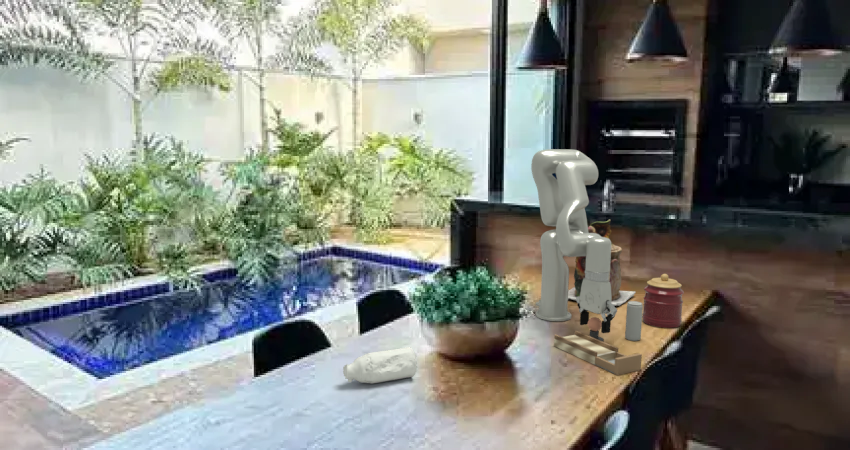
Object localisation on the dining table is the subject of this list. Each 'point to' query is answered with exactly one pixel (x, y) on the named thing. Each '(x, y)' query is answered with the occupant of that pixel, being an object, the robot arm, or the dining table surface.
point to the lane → (585, 347)
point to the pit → (620, 363)
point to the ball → (594, 324)
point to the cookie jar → (615, 270)
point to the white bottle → (382, 366)
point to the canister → (663, 302)
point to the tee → (595, 335)
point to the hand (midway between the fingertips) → (594, 328)
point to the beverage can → (633, 321)
